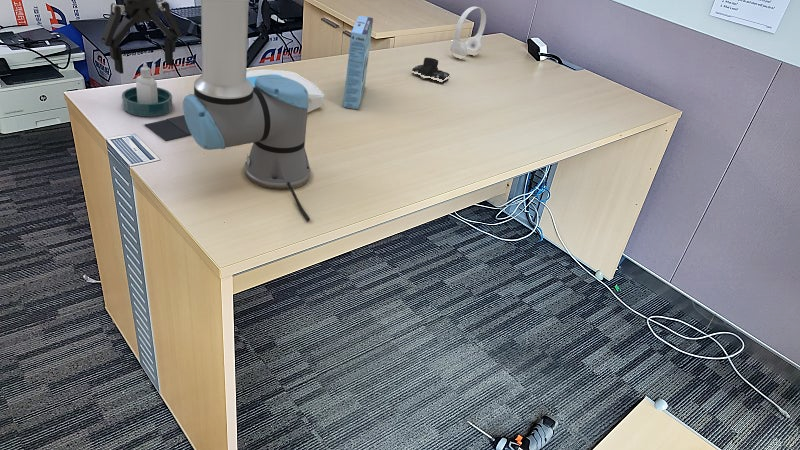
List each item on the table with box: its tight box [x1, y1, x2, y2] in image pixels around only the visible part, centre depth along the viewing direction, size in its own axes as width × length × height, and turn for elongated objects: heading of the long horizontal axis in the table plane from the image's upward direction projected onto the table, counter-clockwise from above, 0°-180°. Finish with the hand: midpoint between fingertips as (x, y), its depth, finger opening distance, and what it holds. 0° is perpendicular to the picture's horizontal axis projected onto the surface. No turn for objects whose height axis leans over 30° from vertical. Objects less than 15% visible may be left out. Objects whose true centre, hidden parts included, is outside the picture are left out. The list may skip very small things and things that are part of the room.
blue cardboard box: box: [342, 15, 374, 110], centre depth 185 cm, size 20×5×23 cm, turn 177°
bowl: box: [121, 86, 174, 117], centre depth 160 cm, size 12×12×4 cm
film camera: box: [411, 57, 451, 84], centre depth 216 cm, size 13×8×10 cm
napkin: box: [144, 114, 192, 142], centre depth 154 cm, size 10×12×1 cm
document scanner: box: [246, 68, 325, 114], centre depth 173 cm, size 21×28×6 cm
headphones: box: [449, 6, 487, 57], centre depth 239 cm, size 7×18×20 cm, turn 141°
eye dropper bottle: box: [135, 62, 158, 104], centre depth 158 cm, size 4×6×12 cm
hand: (145, 67), depth 156 cm, fingers open, 13 cm apart
